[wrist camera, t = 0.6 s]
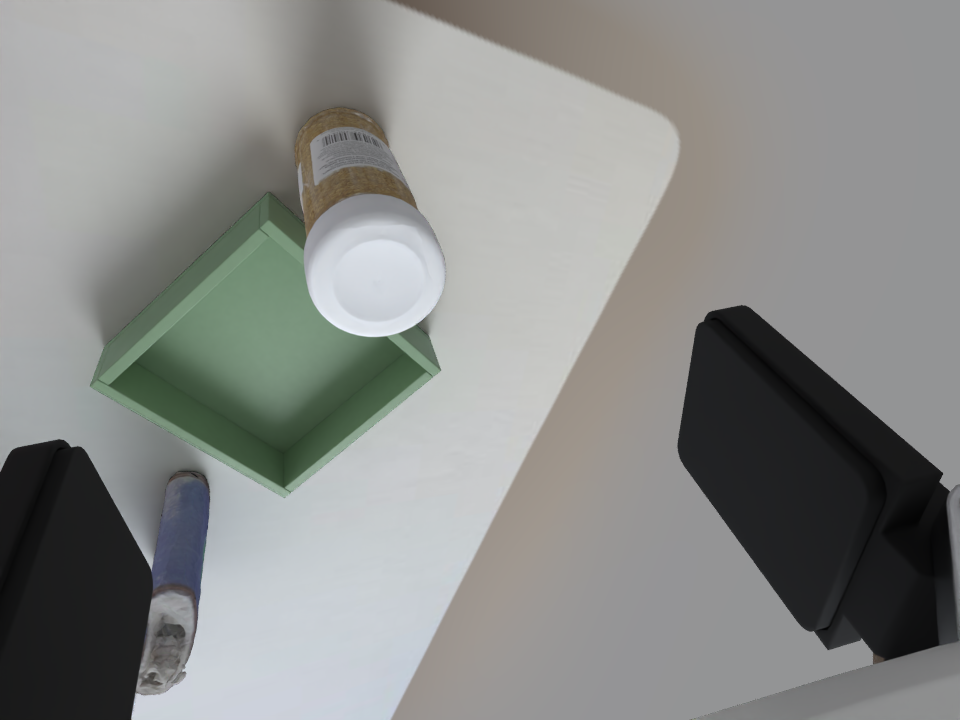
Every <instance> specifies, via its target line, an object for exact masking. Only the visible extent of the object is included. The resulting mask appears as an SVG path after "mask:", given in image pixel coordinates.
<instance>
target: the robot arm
mask: <svg viewBox="0 0 960 720" xmlns="http://www.w3.org/2000/svg"><path fill="white" fill-rule="evenodd" d="M678 453H679V457H680V459H681V461H682V463H683V465H684V466H685V468H686V469H687V471H688V472H689V473H690V475H691V476H692V477H693V479H694V480H695V482H696V483H697V484H698V486H699V487H700V488H701V490H702V491H703V493H704V494H705V495H706V497H707V498H708V499H709V501H710V502H711V504H712V505H713V506H714V508H715V509H716V510H717V512H718V513H719V515H720V516H721V517H722V519H723V520H724V521H725V523H726V524H727V526H728V527H729V528H730V530H731V531H732V532H733V534H734V535H735V536H736V538H737V539H738V541H739V542H740V543H741V545H742V546H743V547H744V549H745V550H746V552H747V553H748V554H749V556H750V557H751V558H752V560H753V561H754V563H755V564H756V566H757V567H758V568H759V570H760V571H761V572H762V574H763V575H764V576H765V578H766V579H767V581H768V582H769V583H770V585H771V586H772V587H773V589H774V590H775V592H776V593H777V594H778V595H779V597H780V598H781V600H782V601H783V603H784V604H785V605H786V607H787V608H788V610H789V611H790V612H791V614H792V615H793V616H794V618H795V619H796V621H797V622H798V623H799V624H800V625H801V626H802V627H803V628H804V629H806V630H807V631H814V632H815V633H816V635H817V636H818V637H819V638H820V640H821V641H822V643H823V644H824V645H825V647H826V648H827V649H828V650H830V649H834V648H837V647H840V646H843V645H847V644H850V643H853V642H856V641H860V640H861V638H862V639H863V640H864V642H865V643H866V644H867V645H868V647H869V648H870V649H871V650H872V651H873V665H870V666H866V667H863V668H860V669H856V670H852V671H849V672H845V673H842V674H838V675H835V676H832V677H829V678H826V679H822V680H819V681H815V682H812V683H809V684H806V685H802V686H799V687H796V688H793V689H789V690H786V691H783V692H779V693H776V694H773V695H770V696H767V697H763V698H760V699H757V700H753V701H750V702H747V703H744V704H741V705H737V706H734V707H730V708H727V709H724V710H721V711H717V712H715V713H711V714H708V715H704V716H701V717H698V718H694V719H691V720H960V484H959V485H956V486H955V487H954V488H953V489H952V490H951V492H950V491H949V490H948V489H947V488H945V487H944V486H943V485H942V484H941V483H940V482H939V481H940V479H941V477H942V475H943V473H942V472H941V471H940V470H939V469H938V468H936V467H935V466H934V465H933V464H932V463H930V462H929V461H928V460H927V459H926V458H924V456H922V455H921V454H920V453H919V452H918V451H916V450H915V449H914V448H913V447H912V446H911V445H909V444H908V443H907V442H906V441H905V440H904V439H903V438H901V437H900V436H899V435H898V434H897V433H895V432H894V431H893V430H892V429H891V428H890V427H888V426H887V425H886V424H885V423H884V422H883V421H882V420H880V419H879V418H878V417H877V416H876V415H874V414H873V413H872V412H871V411H870V410H869V409H868V408H866V407H865V406H864V405H863V404H862V403H860V402H859V401H858V400H857V399H856V398H855V397H854V396H852V395H851V394H850V393H849V392H848V391H846V390H845V389H844V388H843V387H842V386H841V385H840V384H838V383H837V382H836V381H835V380H834V379H832V378H831V377H830V376H829V375H828V374H827V373H825V372H824V371H823V370H822V369H821V368H820V367H818V366H817V365H816V364H815V363H814V362H813V361H811V360H810V359H809V358H808V357H807V356H806V355H804V354H803V353H802V352H801V351H800V350H799V349H797V348H796V347H795V346H794V345H793V344H792V343H790V342H789V341H788V340H787V339H786V338H784V337H783V336H782V335H781V334H780V333H779V332H778V331H776V330H775V329H774V328H773V327H772V326H770V325H769V324H768V323H767V322H766V321H765V320H764V319H762V318H761V317H760V316H759V315H758V314H757V313H755V312H754V311H753V310H752V309H751V308H749V307H747V306H743V305H741V306H736V307H730V308H725V309H720V310H715V311H711V312H709V313H708V314H707V316H706V317H705V320H704V322H701V323H699V324H698V326H697V329H696V332H695V338H694V345H693V351H692V357H691V363H690V370H689V376H688V382H687V388H686V394H685V400H684V407H683V414H682V420H681V425H680V431H679V438H678ZM152 594H153V578H152V573H151V569H150V567H149V564H148V563H147V561H146V559H145V557H144V555H143V554H142V552H141V550H140V548H139V546H138V545H137V543H136V541H135V539H134V537H133V536H132V534H131V532H130V530H129V528H128V527H127V525H126V523H125V521H124V519H123V518H122V516H121V514H120V512H119V510H118V509H117V507H116V505H115V503H114V501H113V500H112V498H111V496H110V494H109V492H108V490H107V489H106V487H105V485H104V483H103V481H102V480H101V478H100V476H99V474H98V472H97V471H96V469H95V467H94V465H93V463H92V462H91V460H90V458H89V456H88V454H87V453H86V451H85V450H84V449H83V448H82V447H78V446H77V447H72V448H71V447H70V445H69V444H68V443H67V442H66V441H64V440H60V439H58V440H53V441H48V442H43V443H38V444H33V445H28V446H23V447H18V448H15V449H13V450H12V451H11V452H10V454H9V455H8V457H7V459H6V461H5V463H4V466H3V468H2V470H1V472H0V720H131V717H132V711H133V705H134V699H135V693H136V687H137V682H138V676H139V670H140V664H141V658H142V652H143V646H144V640H145V635H146V629H147V623H148V617H149V611H150V605H151V599H152Z"/></svg>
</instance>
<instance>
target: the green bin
mask: <svg viewBox="0 0 960 720" xmlns="http://www.w3.org/2000/svg"><path fill="white" fill-rule="evenodd" d="M306 240H307V237H306V230H305V224H304V223H303V222H302V221H301V220H300V219H299V218H297V217H296V216H295V215H294V214H293V213H292V212H291V211H290V210H289V209H288V208H286V207H285V206H284V205H283V204H282V203H281V202H280V201H279V200H278V199H277V198H275V197H274V196H273V195H272V194H271V193H270V192H268V193H267V194H266V195H265V196H264V197H263V198H262V199H261V200H260V201H258V202H257V203H256V204H255V205H254V206H253V207H252V208H251V209H250V210H249V211H248V212H247V213H246V214H245V215H244V216H243V217H241V218H240V219H239V220H238V221H237V222H236V223H235V224H234V225H233V226H232V227H231V228H230V229H229V230H228V231H227V232H226V233H225V234H223V235H222V236H221V237H220V238H219V239H218V240H217V241H216V242H215V243H214V244H213V245H212V246H211V247H210V248H209V249H208V250H207V251H205V252H204V253H203V254H202V255H201V256H200V257H199V258H198V259H197V260H196V261H195V262H194V263H193V264H192V265H191V266H190V267H189V268H187V269H186V270H185V271H184V272H183V273H182V274H181V275H180V276H179V277H178V278H177V279H176V280H175V281H174V282H173V283H172V284H170V285H169V286H168V287H167V288H166V289H165V290H164V291H163V292H162V293H161V294H160V295H159V296H158V297H157V298H156V299H155V300H154V301H152V302H151V303H150V304H149V305H148V306H147V307H146V308H145V309H144V310H143V311H142V312H141V313H140V314H139V315H138V316H137V317H136V318H134V319H133V320H132V321H131V322H130V323H129V324H128V325H127V326H126V327H125V328H124V329H123V330H122V331H121V332H120V333H119V334H118V335H116V336H115V337H114V338H113V339H112V340H111V341H110V342H109V343H108V344H107V345H106V346H105V347H104V349H103V352H102V354H101V357H100V360H99V363H98V365H97V368H96V371H95V373H94V376H93V379H92V381H91V384H90V387H91V388H93V389H95V390H97V391H98V392H100V393H102V394H104V395H105V396H107V397H109V398H111V399H112V400H114V401H116V402H117V403H119V404H121V405H123V406H124V407H126V408H128V409H130V410H131V411H133V412H135V413H137V414H138V415H140V416H142V417H144V418H145V419H147V420H149V421H151V422H152V423H154V424H156V425H158V426H159V427H161V428H163V429H165V430H166V431H168V432H170V433H172V434H173V435H175V436H177V437H179V438H180V439H182V440H184V441H186V442H187V443H189V444H191V445H193V446H194V447H196V448H198V449H200V450H201V451H203V452H205V453H207V454H208V455H210V456H212V457H214V458H215V459H217V460H219V461H221V462H222V463H224V464H226V465H228V466H229V467H231V468H233V469H235V470H236V471H238V472H240V473H242V474H243V475H245V476H247V477H249V478H250V479H252V480H254V481H256V482H257V483H259V484H261V485H263V486H264V487H266V488H268V489H270V490H271V491H273V492H275V493H277V494H278V495H280V496H282V497H284V498H285V497H286V496H287V495H289V494H290V493H291V492H292V491H294V490H295V489H296V488H297V487H299V486H300V485H301V484H302V483H304V482H305V481H306V480H307V479H308V478H310V477H311V476H312V475H313V474H315V473H316V472H317V471H318V470H319V469H321V468H322V467H323V466H324V465H326V464H327V463H328V462H329V461H331V460H332V459H333V458H334V457H335V456H337V455H338V454H339V453H340V452H342V451H343V450H344V449H345V448H347V447H348V446H349V445H350V444H351V443H353V442H354V441H355V440H356V439H358V438H359V437H360V436H361V435H363V434H364V433H365V432H366V431H367V430H369V429H370V428H371V427H372V426H374V425H375V424H376V423H377V422H379V421H380V420H381V419H382V418H383V417H385V416H386V415H387V414H388V413H390V412H391V411H392V410H393V409H395V408H396V407H397V406H398V405H399V404H401V403H402V402H403V401H404V400H406V399H407V398H408V397H409V396H411V395H412V394H413V393H414V392H415V391H417V390H418V389H419V388H420V387H422V386H423V385H424V384H425V383H426V382H428V381H429V380H430V379H431V378H433V376H435V375H436V374H438V373H439V372H440V371H441V369H440V366H439V363H438V360H437V357H436V355H435V352H434V349H433V346H432V343H431V340H430V338H429V336H428V335H427V334H425V333H424V332H423V331H422V330H421V329H420V328H419V327H418V326H417V325H414V326H413V327H411V328H409V329H407V330H405V331H402V332H400V333H397V334H393V335H389V336H382V337H366V336H359V335H355V334H351V333H348V332H346V331H343V330H341V329H339V328H337V327H336V326H334V325H333V324H332V323H330V322H329V321H328V320H327V319H326V318H324V317H323V316H322V315H321V313H320V312H319V311H318V309H317V308H316V306H315V305H314V303H313V301H312V299H311V297H310V294H309V291H308V286H307V281H306V275H305V269H304V247H305V243H306Z"/></svg>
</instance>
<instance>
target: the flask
mask: <svg viewBox="0 0 960 720" xmlns="http://www.w3.org/2000/svg"><path fill="white" fill-rule="evenodd" d="M190 473H193V474H195V475H196V476H197V477H198V478H197V477H195V476H194V475H192V474H190ZM209 490H210V489H209V486H208V483H207V479H205V477H204V475H201V474H199V473H197V472H194V471H193V472H186V473H185V472H177V473H176V474H175V475H174V476H173V477H172V478H171V479H170V480H169V482H168V484H167V487H166V489H165V502H164V507H163V512H162V515H161V516H162V518H161V522H160V529H159V535H158V540H157V547H156V552H155V556H154V561H153V567H152V572H151V573H152V578H153V594H152V599H151V605H150V611H149V617H148V623H147V629H146V635H145V640H144V646H143V652H142V658H141V664H140V670H139V676H138V682H137V687H136V693H138V694H141V695H156V694H162V693H165V692H166V691H168V690H169V689H170V688H171V687H172V686H173V685H177V684H179V683H180V682H181V681H182V680H183V679H184V678H185V676H186V672H182V670H183V669H185V664H186V663H187V661H188V658H189V656H190V653H191V650H192V647H193V643H194V638H195V634H196V629H197V620H198V605H199V600H200V593H201V588H200V587H201V578H202V571H203V561H204V553H205V545H206V536H207V529H208V520H209V502H210V496H209V493H210V491H209Z"/></svg>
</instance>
